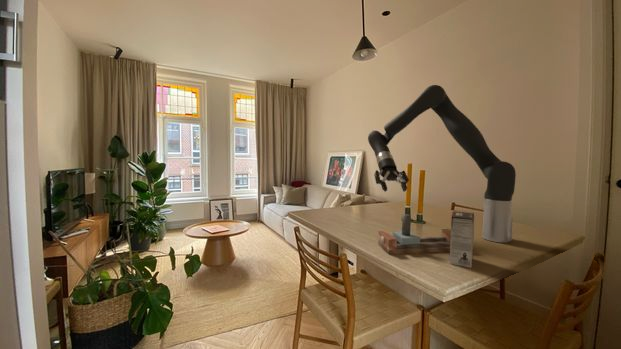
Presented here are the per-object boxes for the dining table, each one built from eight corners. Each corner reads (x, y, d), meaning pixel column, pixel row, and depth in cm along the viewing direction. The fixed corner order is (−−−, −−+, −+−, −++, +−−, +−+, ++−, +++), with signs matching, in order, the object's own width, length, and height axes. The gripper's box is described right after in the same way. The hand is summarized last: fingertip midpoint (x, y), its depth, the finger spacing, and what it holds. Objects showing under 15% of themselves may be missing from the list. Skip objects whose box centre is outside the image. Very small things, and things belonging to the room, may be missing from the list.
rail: (449, 241, 102) (449, 228, 101) (466, 251, 92) (467, 236, 91) (377, 244, 99) (377, 231, 98) (387, 254, 89) (387, 239, 88)
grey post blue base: (409, 237, 99) (410, 212, 98) (420, 244, 91) (420, 217, 90) (392, 237, 98) (393, 212, 97) (401, 244, 90) (402, 217, 90)
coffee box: (450, 254, 89) (452, 210, 88) (471, 258, 85) (474, 212, 84) (449, 264, 81) (451, 215, 80) (472, 268, 78) (475, 218, 76)
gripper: (373, 157, 112) (382, 185, 102) (403, 157, 114) (415, 185, 103) (369, 168, 118) (377, 195, 108) (397, 168, 120) (408, 195, 109)
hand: (395, 190), depth 105 cm, fingers open, 8 cm apart
